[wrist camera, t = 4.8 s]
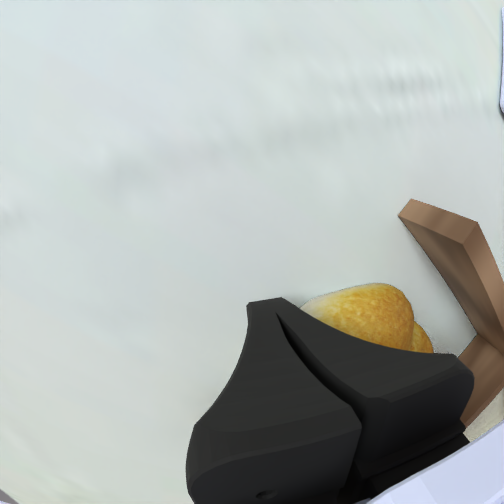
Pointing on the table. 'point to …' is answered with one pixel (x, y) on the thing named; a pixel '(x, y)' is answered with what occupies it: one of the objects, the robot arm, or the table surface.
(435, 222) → the box
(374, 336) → the bread roll
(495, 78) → the table surface
